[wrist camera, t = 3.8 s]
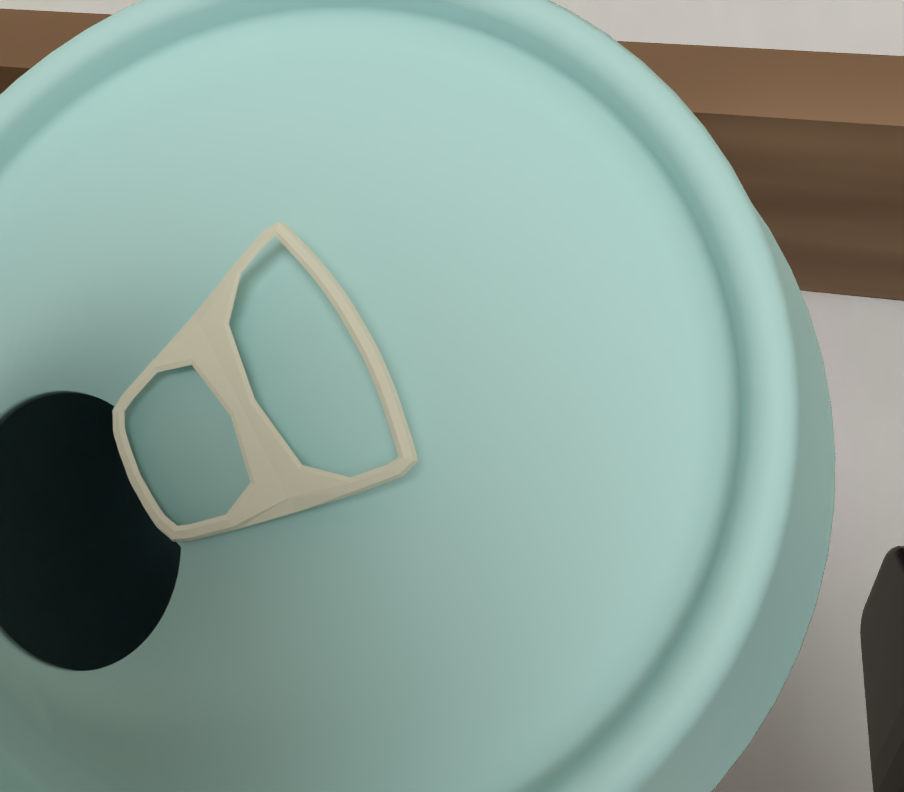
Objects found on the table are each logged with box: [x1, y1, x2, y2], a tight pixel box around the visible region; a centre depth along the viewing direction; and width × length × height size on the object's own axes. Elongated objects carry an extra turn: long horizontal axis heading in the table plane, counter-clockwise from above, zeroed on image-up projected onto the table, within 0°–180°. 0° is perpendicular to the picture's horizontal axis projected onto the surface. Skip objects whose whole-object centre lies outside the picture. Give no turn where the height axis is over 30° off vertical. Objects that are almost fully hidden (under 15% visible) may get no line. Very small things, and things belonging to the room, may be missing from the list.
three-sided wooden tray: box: [0, 9, 904, 300], centre depth 13 cm, size 14×24×6 cm, turn 81°
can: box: [0, 0, 835, 792], centre depth 10 cm, size 7×7×12 cm
